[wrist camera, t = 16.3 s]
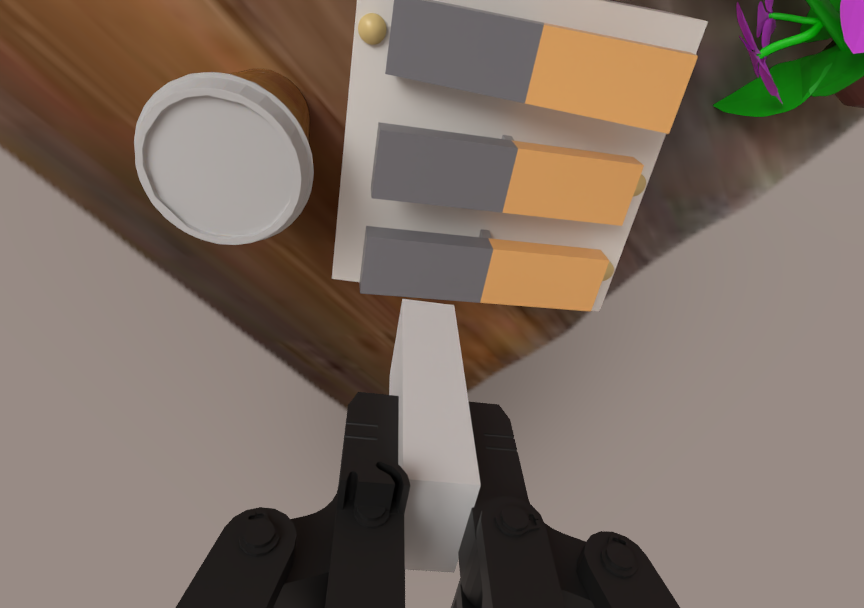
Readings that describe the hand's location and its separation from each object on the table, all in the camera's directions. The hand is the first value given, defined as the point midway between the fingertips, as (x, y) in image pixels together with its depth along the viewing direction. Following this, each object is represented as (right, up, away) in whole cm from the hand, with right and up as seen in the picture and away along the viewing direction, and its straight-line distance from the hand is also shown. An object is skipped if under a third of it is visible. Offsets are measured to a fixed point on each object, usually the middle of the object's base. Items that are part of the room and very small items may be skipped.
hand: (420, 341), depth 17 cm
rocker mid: (+5, +9, +18) cm, 21 cm away
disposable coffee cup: (-11, +14, +24) cm, 30 cm away
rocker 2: (+4, +3, +21) cm, 22 cm away
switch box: (+4, +13, +25) cm, 29 cm away
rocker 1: (+6, +14, +15) cm, 21 cm away
